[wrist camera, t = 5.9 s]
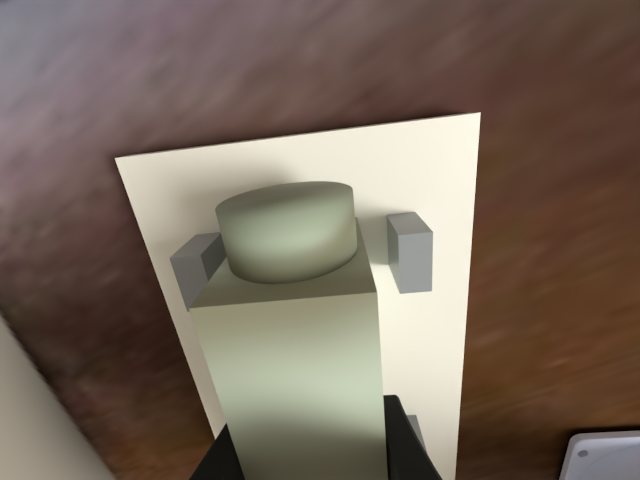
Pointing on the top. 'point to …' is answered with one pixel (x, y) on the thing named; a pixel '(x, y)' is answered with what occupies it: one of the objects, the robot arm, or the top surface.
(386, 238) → the cradle jig
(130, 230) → the top surface
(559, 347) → the top surface
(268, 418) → the tall single-stud brick
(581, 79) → the top surface
